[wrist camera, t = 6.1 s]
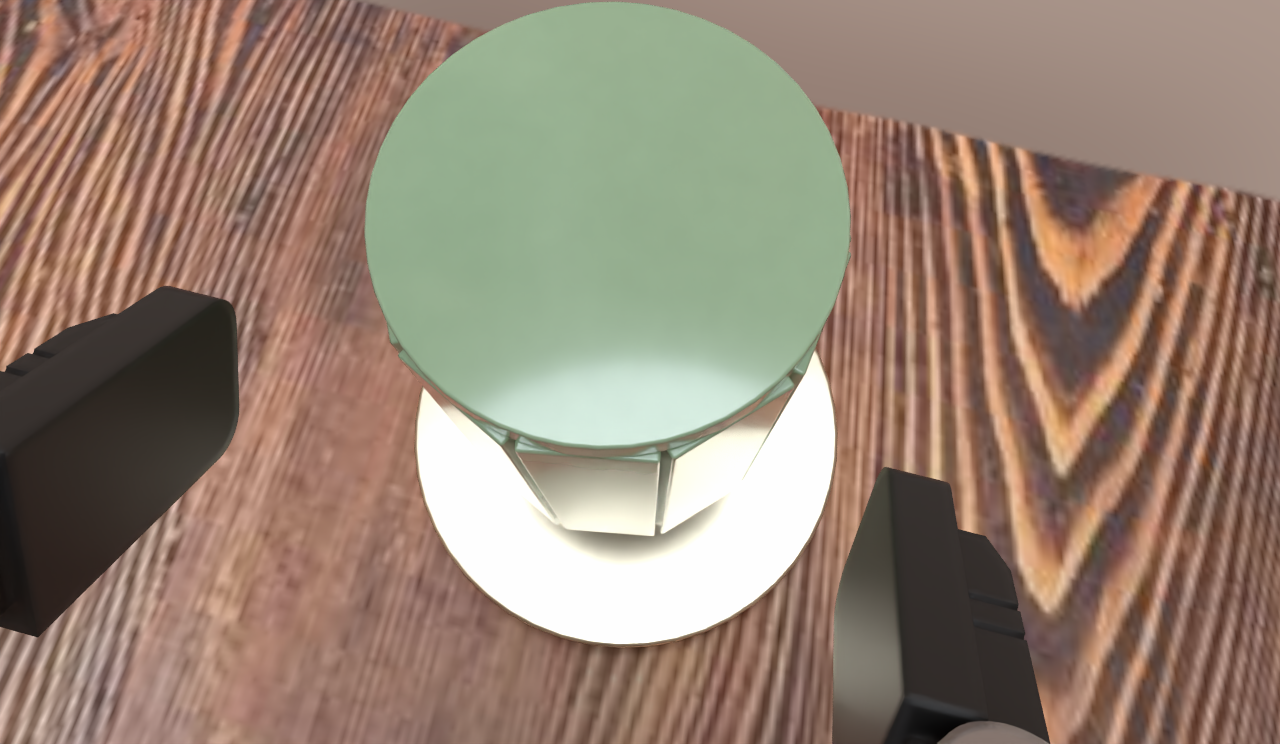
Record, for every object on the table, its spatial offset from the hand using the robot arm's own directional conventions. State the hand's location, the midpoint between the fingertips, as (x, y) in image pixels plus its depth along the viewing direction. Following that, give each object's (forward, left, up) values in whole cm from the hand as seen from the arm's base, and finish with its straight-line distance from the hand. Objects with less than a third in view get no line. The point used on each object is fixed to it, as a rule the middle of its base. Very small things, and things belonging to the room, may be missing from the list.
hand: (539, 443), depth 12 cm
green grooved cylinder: (-1, -3, -9) cm, 10 cm away
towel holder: (-1, -3, -15) cm, 15 cm away
